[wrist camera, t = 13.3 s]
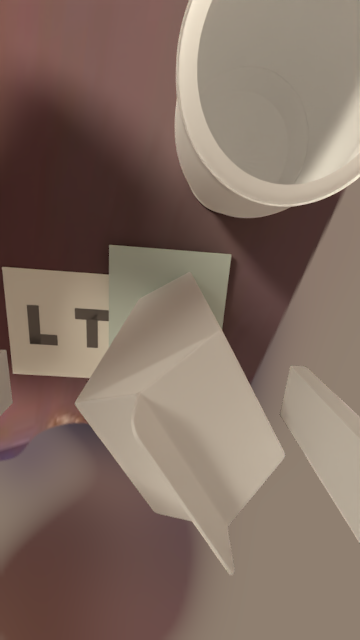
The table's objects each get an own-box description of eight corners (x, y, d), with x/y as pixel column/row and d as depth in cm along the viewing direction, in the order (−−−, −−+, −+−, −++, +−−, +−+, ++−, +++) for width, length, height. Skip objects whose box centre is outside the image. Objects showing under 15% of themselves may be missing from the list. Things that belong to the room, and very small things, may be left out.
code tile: (17, 369, 32) (12, 373, 31) (7, 265, 28) (1, 266, 27) (120, 375, 32) (119, 380, 31) (122, 274, 29) (120, 275, 28)
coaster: (110, 354, 31) (108, 358, 30) (111, 244, 27) (109, 244, 26) (216, 361, 31) (217, 365, 30) (229, 253, 28) (231, 254, 27)
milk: (189, 270, 27) (250, 365, 6) (216, 321, 29) (339, 542, 7) (137, 299, 28) (23, 475, 7) (165, 347, 29) (147, 618, 8)
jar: (261, 238, 27) (357, 234, 13) (161, 207, 26) (147, 166, 12) (302, 120, 25) (482, -50, 10) (193, 82, 24) (222, -168, 9)
